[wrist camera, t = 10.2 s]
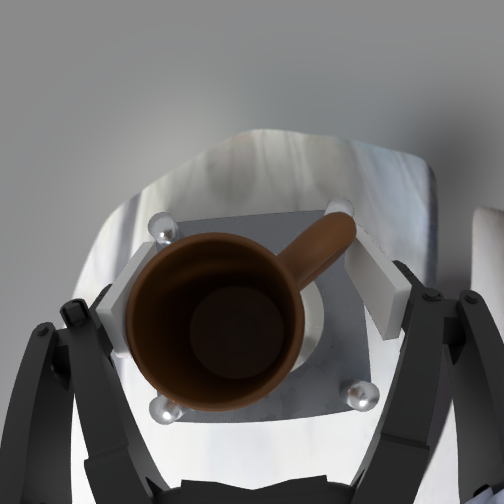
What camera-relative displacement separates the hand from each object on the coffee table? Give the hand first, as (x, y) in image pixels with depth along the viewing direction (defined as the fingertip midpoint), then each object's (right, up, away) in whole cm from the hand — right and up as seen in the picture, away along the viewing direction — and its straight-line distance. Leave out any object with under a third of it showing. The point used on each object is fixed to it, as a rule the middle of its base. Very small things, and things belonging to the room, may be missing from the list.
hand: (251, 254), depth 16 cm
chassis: (+1, -5, +6) cm, 8 cm away
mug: (+1, -4, +4) cm, 6 cm away
